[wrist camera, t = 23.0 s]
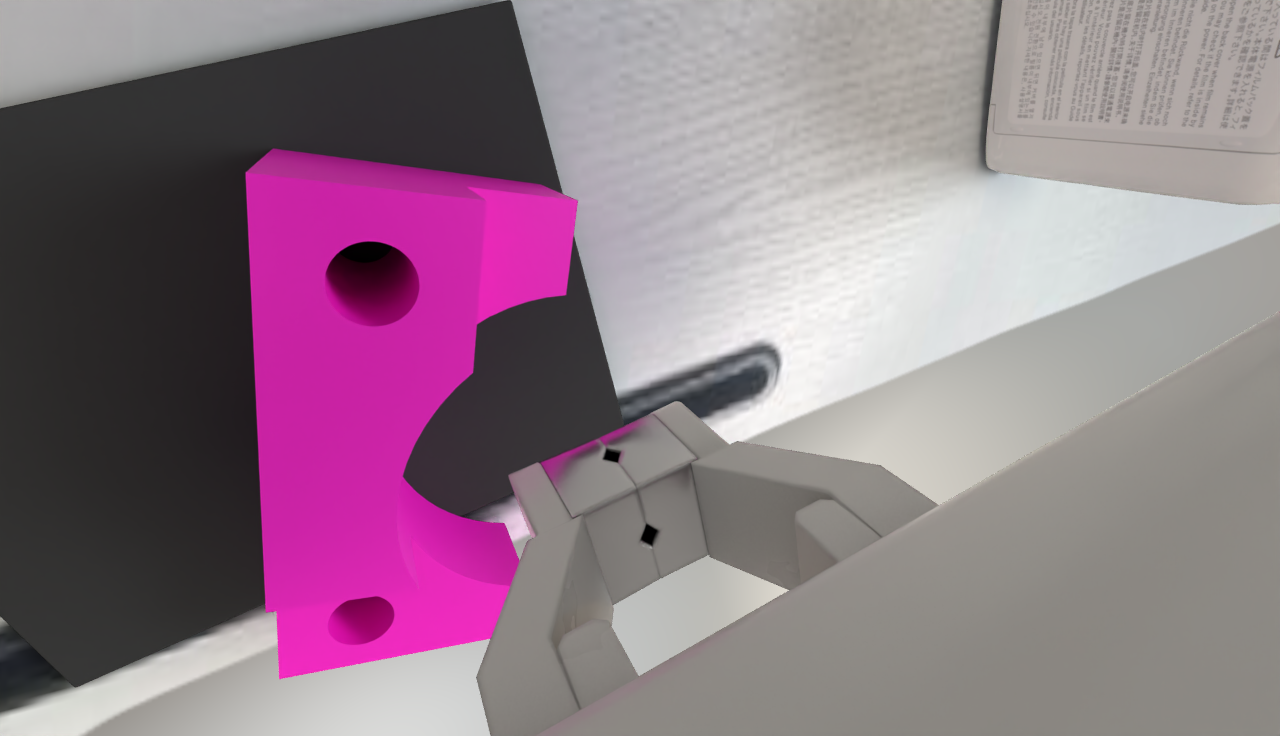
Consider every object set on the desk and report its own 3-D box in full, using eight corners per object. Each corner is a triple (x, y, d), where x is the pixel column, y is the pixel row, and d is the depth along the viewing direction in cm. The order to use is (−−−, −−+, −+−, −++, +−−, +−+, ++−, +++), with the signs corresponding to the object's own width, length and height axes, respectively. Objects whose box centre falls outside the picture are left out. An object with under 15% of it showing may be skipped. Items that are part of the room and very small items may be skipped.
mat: (80, 676, 20) (74, 688, 20) (-410, 198, 13) (-436, 200, 12) (624, 436, 26) (629, 441, 26) (507, 1, 18) (511, -1, 18)
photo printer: (1037, 165, 30) (1403, 202, 20) (972, 184, 29) (1328, 233, 19) (1075, -93, 26) (1580, -221, 15) (1000, -85, 24) (1495, -217, 14)
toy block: (245, 172, 12) (611, 215, 15) (272, 148, 17) (540, 184, 20) (272, 752, 17) (543, 688, 20) (287, 595, 22) (500, 565, 25)
